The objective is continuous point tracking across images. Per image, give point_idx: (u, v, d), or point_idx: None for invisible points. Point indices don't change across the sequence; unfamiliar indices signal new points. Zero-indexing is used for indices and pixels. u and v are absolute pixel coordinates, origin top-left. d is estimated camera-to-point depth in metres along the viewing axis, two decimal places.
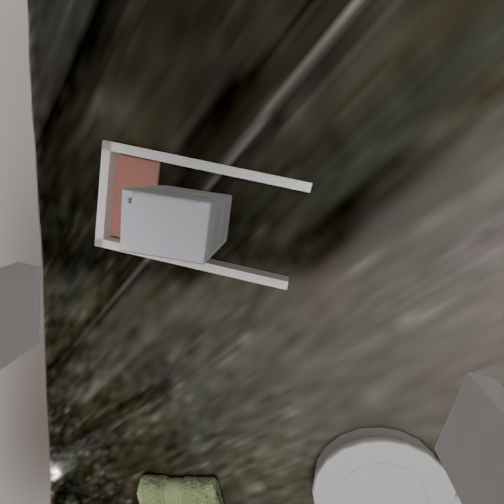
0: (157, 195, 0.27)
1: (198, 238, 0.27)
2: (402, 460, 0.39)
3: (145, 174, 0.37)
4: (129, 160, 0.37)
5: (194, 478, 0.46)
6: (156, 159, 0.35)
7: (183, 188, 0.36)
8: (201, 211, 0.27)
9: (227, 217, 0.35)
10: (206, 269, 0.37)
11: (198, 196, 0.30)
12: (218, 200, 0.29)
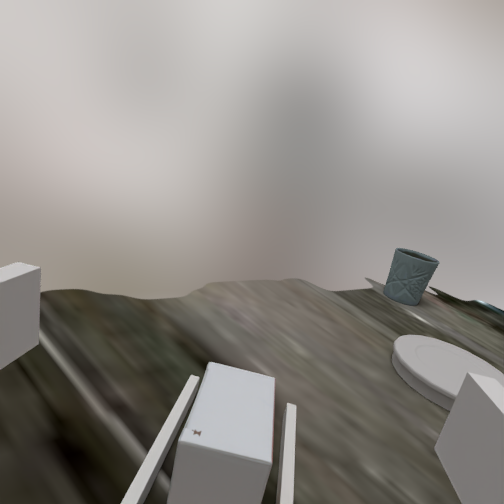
0: (194, 403, 0.21)
1: (247, 375, 0.25)
2: (409, 352, 0.51)
3: None
4: None
5: None
6: None
7: None
8: (217, 368, 0.25)
9: None
10: (290, 486, 0.26)
11: None
12: None
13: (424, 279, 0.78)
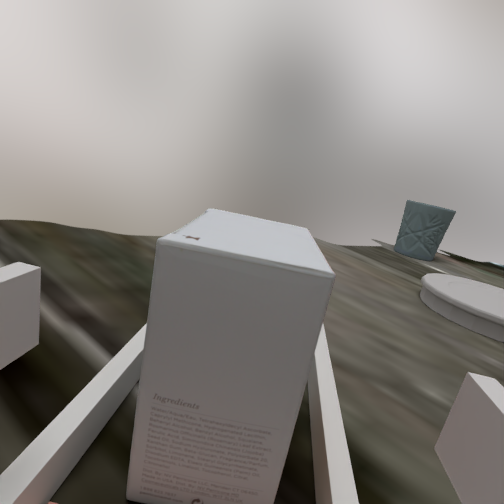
0: (187, 225, 0.13)
1: (266, 220, 0.16)
2: (442, 285, 0.43)
3: None
4: None
5: None
6: (46, 457, 0.11)
7: None
8: (221, 211, 0.16)
9: None
10: (332, 394, 0.18)
11: None
12: None
13: (440, 230, 0.70)
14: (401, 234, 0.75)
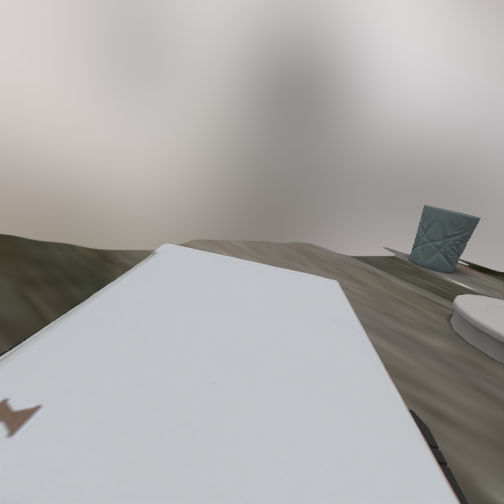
0: (74, 311, 0.05)
1: (264, 269, 0.09)
2: (480, 312, 0.35)
3: None
4: None
5: None
6: None
7: None
8: (184, 252, 0.09)
9: None
10: None
11: None
12: None
13: (463, 239, 0.63)
14: (418, 243, 0.67)
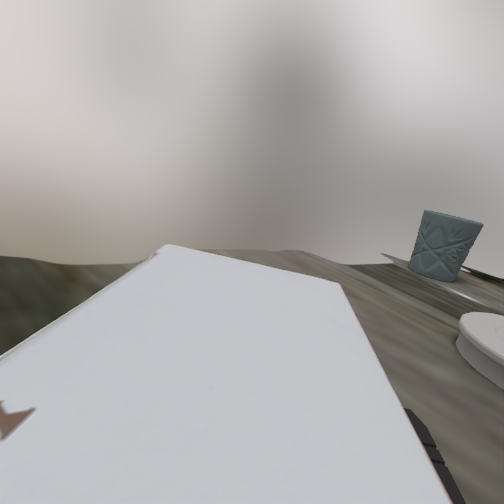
0: (73, 312, 0.05)
1: (265, 271, 0.09)
2: (490, 336, 0.32)
3: None
4: None
5: None
6: None
7: None
8: (185, 253, 0.09)
9: None
10: None
11: None
12: None
13: (465, 246, 0.59)
14: (417, 250, 0.63)
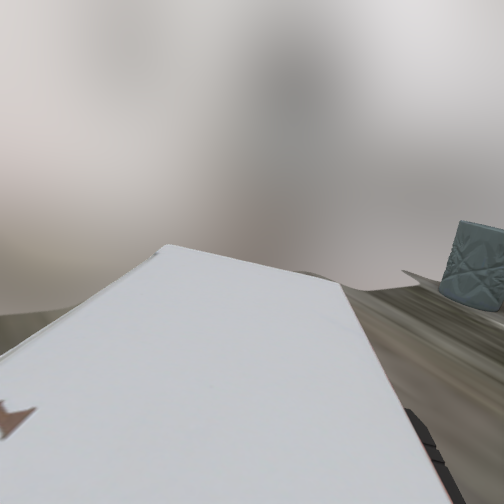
0: (74, 312, 0.05)
1: (266, 271, 0.09)
2: None
3: None
4: None
5: None
6: None
7: None
8: (185, 253, 0.09)
9: None
10: None
11: None
12: None
13: None
14: (452, 271, 0.51)
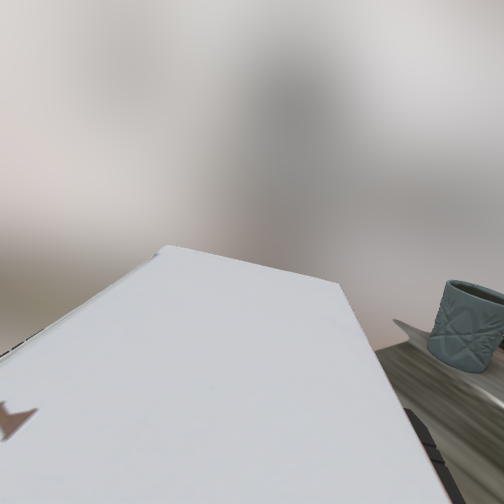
0: (74, 313, 0.05)
1: (266, 271, 0.09)
2: None
3: None
4: None
5: None
6: None
7: None
8: (186, 253, 0.09)
9: None
10: None
11: None
12: None
13: (500, 333, 0.48)
14: (439, 331, 0.53)
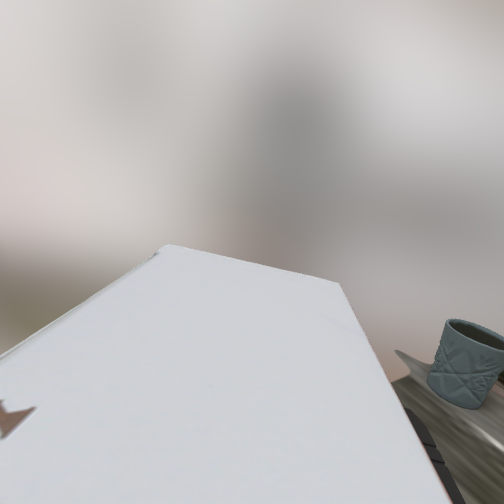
0: (73, 312, 0.05)
1: (266, 271, 0.09)
2: None
3: None
4: None
5: None
6: None
7: None
8: (185, 253, 0.09)
9: None
10: None
11: None
12: None
13: (495, 374, 0.52)
14: (439, 368, 0.56)
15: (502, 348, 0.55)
